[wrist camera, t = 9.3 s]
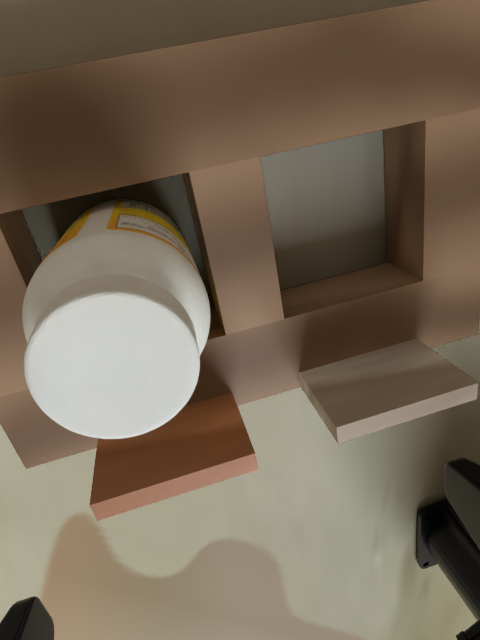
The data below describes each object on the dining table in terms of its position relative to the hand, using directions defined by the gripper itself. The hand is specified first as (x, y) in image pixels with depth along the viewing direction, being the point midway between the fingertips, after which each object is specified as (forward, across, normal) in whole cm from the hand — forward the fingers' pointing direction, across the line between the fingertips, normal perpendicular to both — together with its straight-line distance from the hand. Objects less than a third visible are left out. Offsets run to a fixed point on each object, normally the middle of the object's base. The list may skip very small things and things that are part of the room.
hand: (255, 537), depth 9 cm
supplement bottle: (+12, +2, -4) cm, 13 cm away
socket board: (+12, -2, -4) cm, 13 cm away
